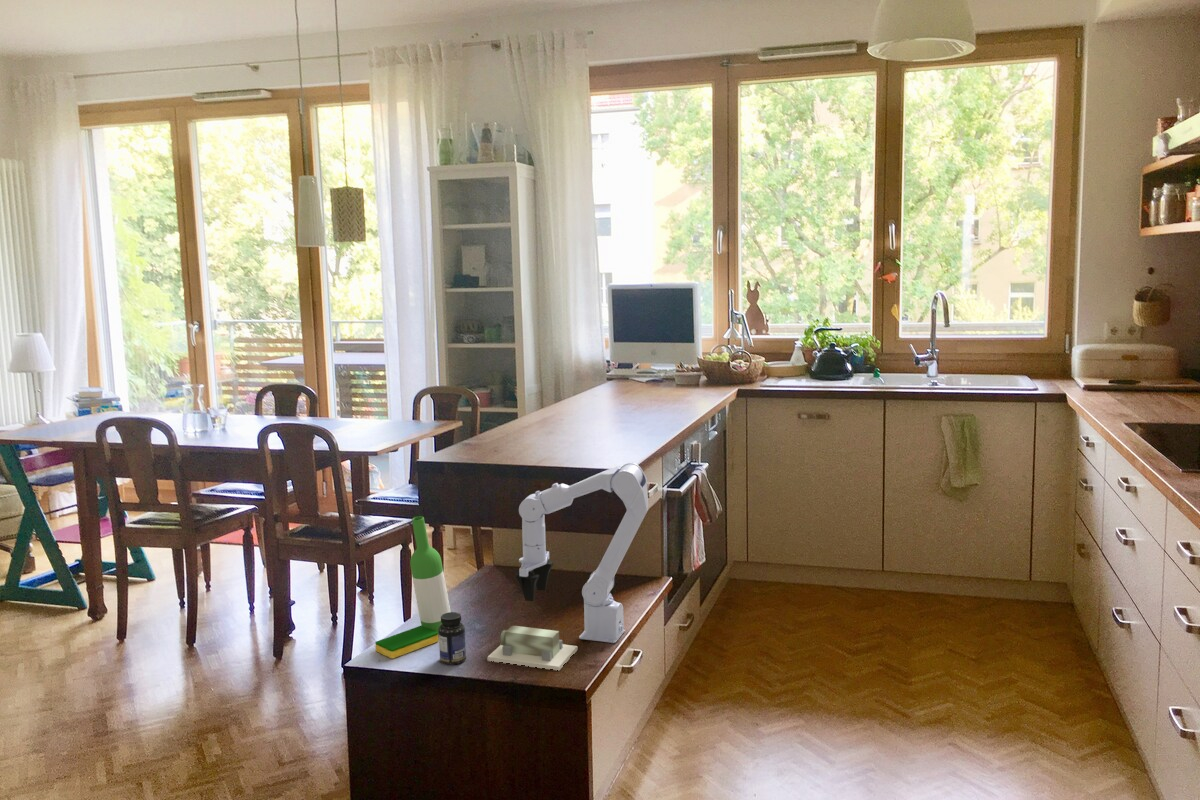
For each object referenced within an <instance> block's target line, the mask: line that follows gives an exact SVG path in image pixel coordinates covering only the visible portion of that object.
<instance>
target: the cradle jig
mask: <svg viewBox="0 0 1200 800" xmlns="http://www.w3.org/2000/svg"><path fill="white" fill-rule="evenodd" d="M563 641H564V640H563V639H559V652H558V653H557V654H556V656H555V657H554V658H552V652H551V651H543V652H542V656H534V655H527V654H519V653H512V646H505V645H504V646H502V645H501V644H500V645H499V646H498V647H496V649H494V650H493V651H492V652H491V653H490V654H489V655H488V656H487V658H486V659H487V662H491V661H492V662H493V661H494V662H493V663H499V662H503V663H502V664H506V663H510V664H509V665H513V664H517V665H516V666H521V665H525V666H524V667H528V666H529V668H535V667H537V668H538V669H542V668H545V669H544V670H550V669H553V670H552V671H557V670H558V672H559V671H561V669H562V668H563V667H564V666H565V665H566V664H567V662H569V660H570V659H571V658H572V657H573V656H572V655H573V654H574V655H575V653H577V651H578V646H577V645H571V644H565V643H563ZM571 656H572V657H571ZM570 657H571V658H570ZM492 662H491V663H492ZM565 663H566V664H565ZM564 664H565V665H564ZM563 665H564V666H563Z"/></svg>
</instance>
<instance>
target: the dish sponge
mask: <svg viewBox="0 0 1200 800" xmlns="http://www.w3.org/2000/svg"><path fill="white" fill-rule="evenodd" d="M434 643H439V634H438V632H436V631H434V630H431V629H429V628H426V627H423V626H421V625H419V626H416V627H414V628H411V629H408V630H405V631H402V632H399V633H397V634H394V635H391V636H388V637H385V638H382V639H380V640H376V641H375V642H374V644H375V652H378V654H380V655H383V656H385V657H387V658H389V659H392V660H393V659H396V658H398V657H401V656H403V655H406V654H409V653H412V652H413V651H416V650H419V649H422V648H424V647H427V646H430V645H432V644H434Z"/></svg>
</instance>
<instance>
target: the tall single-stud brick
mask: <svg viewBox="0 0 1200 800" xmlns="http://www.w3.org/2000/svg"><path fill="white" fill-rule="evenodd" d="M559 640H560V631H559V630H554V629H552V630H551V629H545V628H544V629H543V628H537V627H527V626H519V625H511V626H510V627H509V628H507V629H503V630H502V631H501V634H500V636H499V643H500V645H502V646H504V645H505V646H512V653H519V654H527V655H534V656H542V652H543V651H551V652H552V658H554V657H555V656H556V654H557V653H558V652H559Z"/></svg>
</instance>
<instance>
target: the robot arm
mask: <svg viewBox="0 0 1200 800" xmlns="http://www.w3.org/2000/svg"><path fill="white" fill-rule="evenodd" d="M647 485H648V479H647V476H646V474H645V472H644V471H643V468H642V467H641V466H639V465H638V464H637V463H633V462H632V463H631V462H627V463H625V464H623V465H622V466H620V465H619V466H618V465H617V466H614V467H611V468H608V469H606V470H604V471H601V472H599V473H596V474H594V475H591V476H589V477H587V478H584V479H583V480H580V481H579V482H575V483H573V484H570V485H568V484H565V483H560V484H559V483H558V482H555V483H552V485H551V487H550V488H549V487H548V488H547V489H545V490H542V491H540V490H536V491H535V492H534V493H531V494H529V495H528V496H526V497H525V499H523V500H522V501H521V502H520V504H519V507H518V514H519V516H520V517H521V528H522V529H521V533H522V534H521V536H522V557H520V558H519V559H518V563H520V564H521V566H520V567H519V569H518V570H519V571H518V572H516V573H515V578H516V580H517V581H518V583H519V585H520V587H521V589H522V594H523V597H524V599H525V601H527V602H534V601H535V598H536V589H537V591H544V592H545V591H546V590H547V587H548V586H547V585H548V581H549V577H550V573H551V570H552V568H553V566H554V561H552V560H550V551H547V547H546V546H547V544H546V540H547V539H546V522H545V521H546V519H545V515H549V514H551V513H555V512H556V511H560V510H561V509H565V508H566V507H567V508H568V507H570V506H571V505H572V504H573V501H574V499H576V498H579V497H582V496H584V495H588V494H590V493H593V492H596V491H599V490H603V491H606V492H607V493H613V491H614V493H615V494H616V495H617V496H618V497H619V498H620V500H621V501H622V503H623V505H624V506H625V509H626V512H625V513H624V515H623V517H622V519H621V522H620V523H619V525H618V527H617V529H616V530H615V533H614V535H613V537H612V539H611V541H610V543H609V545H608V547H607V549H606V550H605V552H604V555H603V557H602V559H601V561H600V562H599V564H598V566H597V567H596V570H594V571H593V572H591V574H590V575H589V579H587V581H586V582H585V584H583V586H582V588H581V589H582V590H581V595H582V597H583V608H584V609H583V610H584V612H583V613H584V614H583V618H584V619H583V621H584V623H583V624H584V631H583V632H582V633H580V635H579V636H578V639H579V640H587V641H593V642H594V641H595V642H603V643H610V644H614V643H616V642H618V640H619V639H620V638H621V636H622V635H623V634H624V633H625V629H624V627H625V626H624V622H625V621H624V618H625V617H624V613H625V612H624V606H623V603H621V602H618V601H615V600H614V597H613V595H612V593H611V591H612V589H613V588H614V586H615V577H616V576H615V575H616V573H617V571H618V569H619V567H620V565H621V564H622V561H623V560H624V557H625V556H626V553H627V551H628V550H629V548H630V546H631V544H632V542H633V541H634V540H633V539H634V538H635V536H636V534H637V532H638V530H639V528H640V526H641V525H642V522H643V520H644V518H645V517H646V515H647V512H648V511H649V507H650V505H649V504H650V503H649V496H648V495H649V494H648V486H647ZM532 571H533V572H532Z"/></svg>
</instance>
